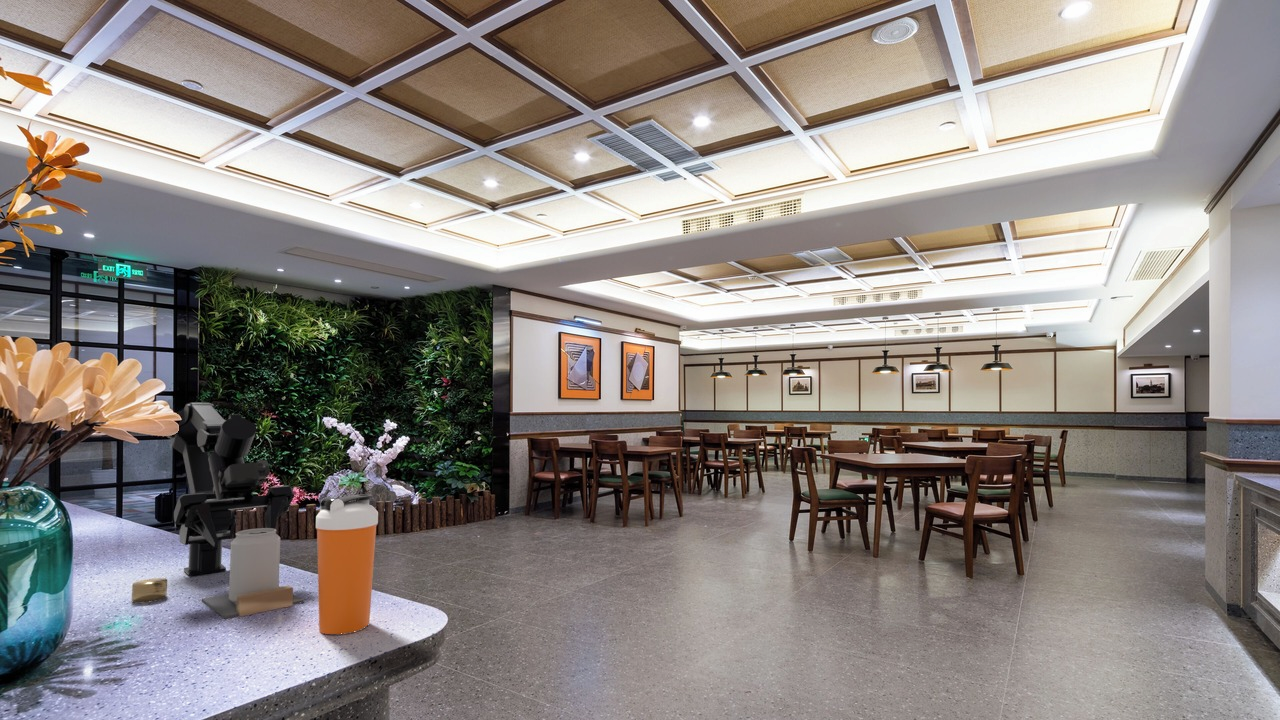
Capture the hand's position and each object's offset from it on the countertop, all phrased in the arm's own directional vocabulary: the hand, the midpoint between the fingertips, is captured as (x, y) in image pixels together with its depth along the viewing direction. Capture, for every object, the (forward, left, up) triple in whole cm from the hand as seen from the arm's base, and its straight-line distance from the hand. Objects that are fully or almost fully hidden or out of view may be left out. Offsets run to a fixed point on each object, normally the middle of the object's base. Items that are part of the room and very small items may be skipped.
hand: (245, 541), depth 119 cm
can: (+6, 0, -9) cm, 11 cm away
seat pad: (+6, 0, -10) cm, 12 cm away
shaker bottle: (+30, +7, -10) cm, 33 cm away
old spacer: (-10, -13, -10) cm, 19 cm away
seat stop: (+12, +1, -10) cm, 15 cm away
